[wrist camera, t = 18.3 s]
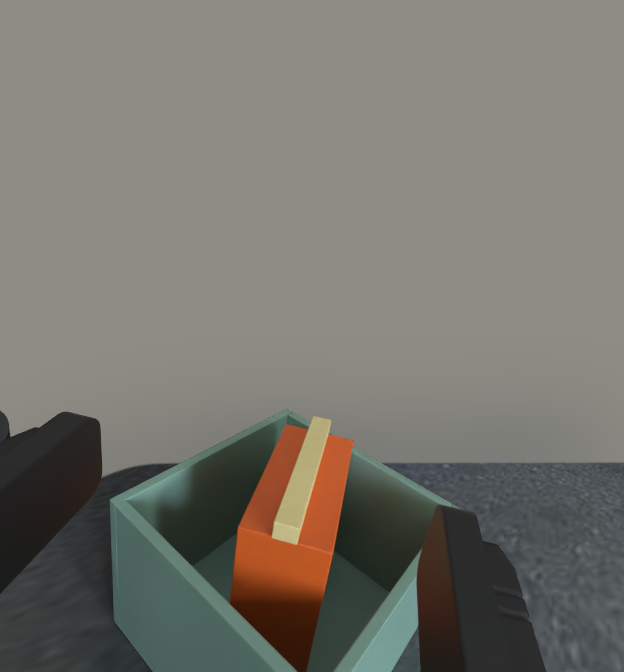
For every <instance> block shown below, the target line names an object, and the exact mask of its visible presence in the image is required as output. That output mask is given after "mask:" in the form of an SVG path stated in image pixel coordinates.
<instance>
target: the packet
mask: <svg viewBox="0 0 624 672" xmlns="http://www.w3.org/2000/svg"><path fill="white" fill-rule="evenodd" d="M330 425H331V420H329V419H325V418H320V417H316V416H313V418H312V420H311V423H310V426H309V428H308V429H304V428H300V427H296V426H292V425H288V424H286V425H285V428H284V430H283V432H282V434H281V436H280V438H279V440H278V442H277V445H276V447H275V449H274V451H273V453H272V455H271V457H270V460H269V462H268V464H267V466H266V468H265V470H264V472H263V474H262V477H261V479H260V481H259V483H258V485H257V487H256V489H255V492H254V494H253V496H252V498H251V500H250V502H249V504H248V506H247V509H246V511H245V513H244V515H243V517H242V519H241V521H240V524H239V526H238V529H237V539H236V548H235V557H234V566H233V575H232V584H231V593H230V602H229V604H230V605H231V606H232V607H233V608H234V609H235V610H236V611H237V612H238V613H239V614H240V615H241V616H242V617H243V618H244V619H245V620H246V621H247V622H248V623H249V624H250V625H251V626H252V627H253V628H254V629H255V630H256V631H257V632H258V633H259V634H260V635H261V636H262V637H263V638H264V639H265V640H266V641H267V642H268V643H269V644H270V645H271V646H272V647H273V648H274V649H275V650H276V651H277V652H278V653H279V654H280V655H281V656H282V657H283V658H284V659H285V660H286V661H287V662H288V663H289V664H290V665H291V666H292V667H293V668H294V669H295V670H296V671H297V672H307V667H308V663H309V658H310V654H311V649H312V645H313V641H314V636H315V632H316V627H317V623H318V618H319V614H320V610H321V605H322V601H323V596H324V592H325V587H326V583H327V579H328V574H329V570H330V565H331V561H332V556H333V552H334V546H335V541H336V535H337V530H338V524H339V519H340V513H341V508H342V502H343V497H344V491H345V486H346V480H347V475H348V469H349V464H350V458H351V453H352V448H353V440H350V439H346V438H341V437H338V436H333V435H329V430H330Z"/></svg>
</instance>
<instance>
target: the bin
mask: <svg viewBox="0 0 624 672" xmlns="http://www.w3.org/2000/svg"><path fill="white" fill-rule="evenodd" d="M310 423H311V422H309V421H307V420H306V419H303V418H302V417H300V416H299V415H297V414H295V413H293V412H292V411H290V410H288V409H286V410H283V411H281V412H279V413H278V414H276V415H274V416H272V417H270V418H268V419H266V420H264V421H262V422H260V423H258V424H256V425H254V426H252V427H250V428H248V429H246V430H244V431H242V432H241V433H238V434H237V435H235V436H233V437H231V438H229V439H227V440H225V441H223V442H221V443H219V444H217V445H215V446H213V447H211V448H209V449H207V450H205V451H203V452H201V453H199V454H197V455H196V456H194V457H192V458H190V459H188V460H186V461H184V462H182V463H180V464H178V465H176V466H174V467H172V468H170V469H168V470H166V471H164V472H162V473H160V474H158V475H156V476H155V477H153V478H151V479H149V480H147V481H145V482H143V483H141V484H139V485H137V486H135V487H133V488H131V489H129V490H127V491H125V492H123V493H121V494H119V495H117V496H115V497H114V498H112V499H110V521H111V549H112V576H113V604H114V622H115V623H116V624H117V626H118V627H119V628H120V630H121V631H122V632H123V634H124V635H125V636H126V637H127V639H128V640H129V641H130V643H131V644H132V645H133V647H134V648H135V649H136V651H137V652H138V653H139V655H140V656H141V657H142V658H143V660H144V661H145V662H146V664H147V665H148V666H149V668H150V669H151V670H152V672H297V671H296V670H295V669H294V668H293V667H292V666H291V665H290V664H289V663H288V662H287V661H286V660H285V659H284V658H283V657H282V656H281V655H280V654H279V653H278V652H277V651H276V650H275V649H274V648H273V647H272V646H271V645H270V644H269V643H268V642H267V641H266V640H265V639H264V638H263V637H262V636H261V635H260V634H259V633H258V632H257V631H256V630H255V629H254V628H253V627H252V626H251V625H250V624H249V623H248V622H247V621H246V620H245V619H244V618H243V617H242V616H241V615H240V614H239V613H238V612H237V611H236V610H235V609H234V608H233V607H232V606H231V605H230V604H229V602H230V593H231V584H232V575H233V566H234V557H235V548H236V539H237V529H238V526H239V524H240V521H241V519H242V517H243V515H244V513H245V511H246V509H247V506H248V504H249V502H250V500H251V498H252V496H253V494H254V492H255V489H256V487H257V485H258V483H259V481H260V479H261V477H262V474H263V472H264V470H265V468H266V466H267V464H268V462H269V460H270V457H271V455H272V453H273V451H274V449H275V447H276V445H277V442H278V440H279V438H280V436H281V434H282V432H283V430H284V428H285V425H286V424H288V425H292V426H296V427H300V428H304V429H308V428H309V426H310ZM329 435H331V434H330V433H329ZM438 504H441V505H446V506H450V507H454V508H458V507H456V506H454V505H452V504H451V503H449V502H448V501H446V500H444V499H442V498H441V497H439V496H437V495H435V494H434V493H432V492H430V491H428V490H427V489H425V488H423V487H422V486H420V485H418V484H416V483H415V482H413V481H411V480H409V479H408V478H406V477H404V476H403V475H401V474H399V473H397V472H396V471H394V470H392V469H390V468H389V467H387V466H385V465H383V464H382V463H380V462H378V461H376V460H375V459H373V458H371V457H370V456H368V455H366V454H364V453H363V452H361V451H359V450H357V449H356V448H354V447H353V448H352V453H351V458H350V464H349V469H348V475H347V480H346V486H345V491H344V497H343V502H342V508H341V513H340V519H339V524H338V530H337V535H336V541H335V546H334V552H333V556H332V561H331V565H330V570H329V574H328V579H327V583H326V587H325V592H324V596H323V601H322V605H321V610H320V614H319V618H318V623H317V627H316V632H315V636H314V641H313V645H312V649H311V654H310V658H309V663H308V667H307V672H391V671H392V670H393V668H394V666H395V665H396V663H397V661H398V659H399V658H400V656H401V654H402V653H403V651H404V649H405V648H406V646H407V644H408V642H409V641H410V639H411V637H412V636H413V634H414V632H415V631H416V629H417V627H418V607H417V587H416V580H417V568H418V562H419V557H420V554H421V550H422V547H423V544H424V541H425V538H426V535H427V532H428V529H429V526H430V523H431V520H432V517H433V514H434V511H435V509H436V507H437V505H438ZM458 509H460V508H458Z"/></svg>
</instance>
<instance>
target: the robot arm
mask: <svg viewBox="0 0 624 672" xmlns="http://www.w3.org/2000/svg"><path fill="white" fill-rule="evenodd" d="M101 476H102V454H101V431H100V424H99V421H98V420H97V419H95V418H91V417H87V416H83V415H78V414H74V413H70V412H62V413H60V414H58V415H56V416H55V417H54V418H52V419H51V420H49V421H48V422H47V423H45V424H44V425H43V426H41V427H40V428H37V427H35V428H32V429H30V430H27V431H25V432H22V433H20V434H17V435H15V436H12V437H10V438H8V439H6V440H5V441H4V442H2V443H1V444H0V593H1V592H2V591H3V590H4V589H5V588H6V587H7V586H8V585H9V584H10V583H11V582H12V581H13V580H14V579H15V577H16V576H17V575H18V574H19V573H20V572H21V571H22V570H23V569H24V568H25V567H26V566H27V565H28V564H29V563H30V562H31V560H32V559H33V558H34V557H35V556H36V555H37V554H38V553H39V552H40V551H41V550H42V549H43V548H44V547H45V546H46V545H47V544H48V542H49V541H50V540H51V539H52V538H53V537H54V536H55V535H56V534H57V533H58V532H59V531H60V530H61V529H62V528H63V527H64V526H65V524H66V523H67V522H68V521H69V520H70V519H71V518H72V517H73V516H74V515H75V514H76V513H77V512H78V511H79V510H80V509H81V508H82V506H83V505H84V504H85V503H86V502H87V501H88V500H89V499H90V498H91V497H92V496H93V494H94V493H95V491H96V489H97V487H98V485H99V483H100V480H101ZM416 587H417V607H418V626H419V646H420V665H421V672H546V670H545V667H544V663H543V660H542V657H541V653H540V650H539V647H538V644H537V640H536V637H535V634H534V630H533V627H532V624H531V622H529V614H528V611H527V607H526V604H525V601H524V599H522V595H523V594H522V591H521V588H520V584H519V581H518V578H517V574H516V571H515V568H514V567H513V565H512V564H511V563H510V561H509V560H508V558H507V557H506V556H505V554H504V553H503V551H502V550H501V548H500V547H499V546H498V545H497V544H493V543H489V542H485V541H482V537H481V533H480V529H479V525H478V520H477V517H476V515H475V513H473V512H470V511H466V510H462V509H458V508H454V507H450V506H446V505H441V504H438V505H437V507H436V509H435V511H434V514H433V517H432V520H431V523H430V526H429V529H428V532H427V535H426V538H425V541H424V544H423V547H422V550H421V554H420V557H419V562H418V568H417V580H416Z"/></svg>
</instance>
